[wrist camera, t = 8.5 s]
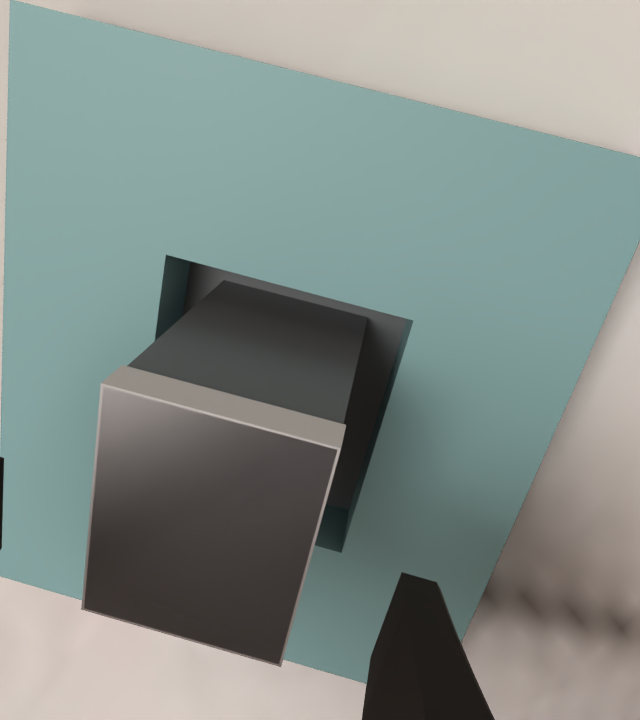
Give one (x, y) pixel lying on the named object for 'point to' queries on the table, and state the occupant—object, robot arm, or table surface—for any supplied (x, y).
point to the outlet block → (298, 294)
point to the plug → (220, 469)
